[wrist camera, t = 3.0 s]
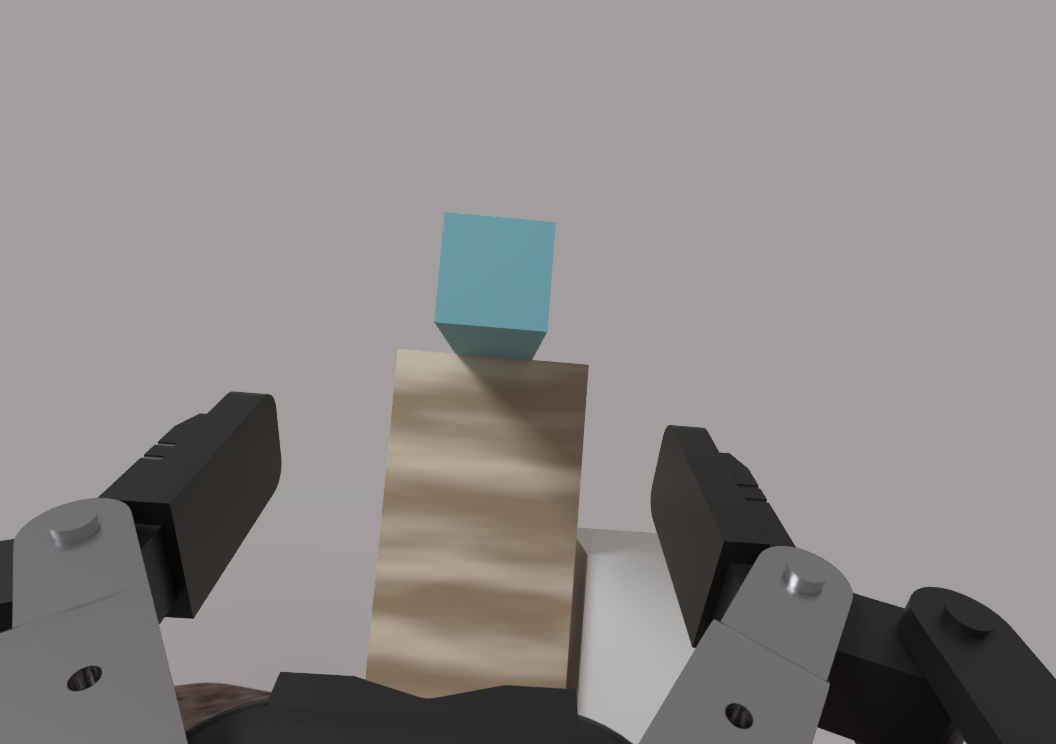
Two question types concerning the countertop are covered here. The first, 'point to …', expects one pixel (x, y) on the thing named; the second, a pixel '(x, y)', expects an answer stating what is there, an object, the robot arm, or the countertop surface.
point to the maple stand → (478, 524)
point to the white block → (623, 630)
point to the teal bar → (494, 285)
